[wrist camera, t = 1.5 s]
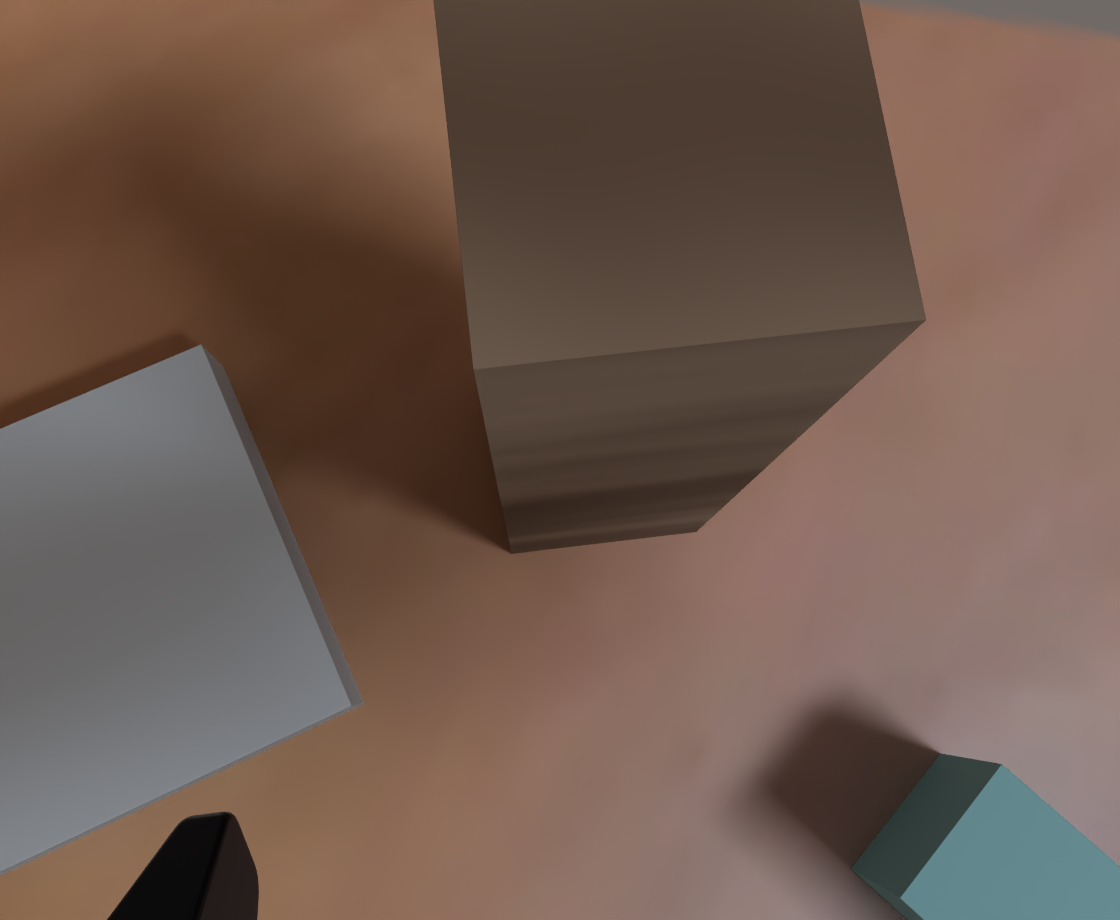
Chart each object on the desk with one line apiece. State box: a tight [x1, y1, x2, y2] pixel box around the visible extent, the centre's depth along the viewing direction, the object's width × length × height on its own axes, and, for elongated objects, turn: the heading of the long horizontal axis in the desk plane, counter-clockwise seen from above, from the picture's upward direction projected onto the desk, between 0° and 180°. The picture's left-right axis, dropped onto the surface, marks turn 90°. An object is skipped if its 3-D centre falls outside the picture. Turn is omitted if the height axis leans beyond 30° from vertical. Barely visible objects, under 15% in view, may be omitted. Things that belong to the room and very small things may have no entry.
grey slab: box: [0, 345, 364, 876], centre depth 20 cm, size 8×8×2 cm
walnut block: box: [434, 0, 926, 554], centre depth 15 cm, size 4×4×13 cm
